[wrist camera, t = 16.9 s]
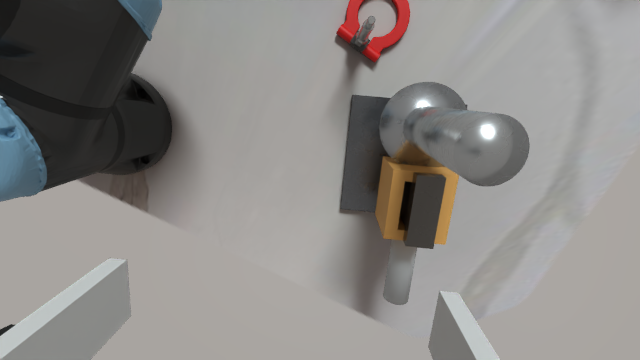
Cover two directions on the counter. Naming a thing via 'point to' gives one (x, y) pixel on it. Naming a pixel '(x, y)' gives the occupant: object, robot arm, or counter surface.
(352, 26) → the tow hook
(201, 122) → the counter surface
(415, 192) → the wedge
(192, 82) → the counter surface
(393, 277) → the bracket head
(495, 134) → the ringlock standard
